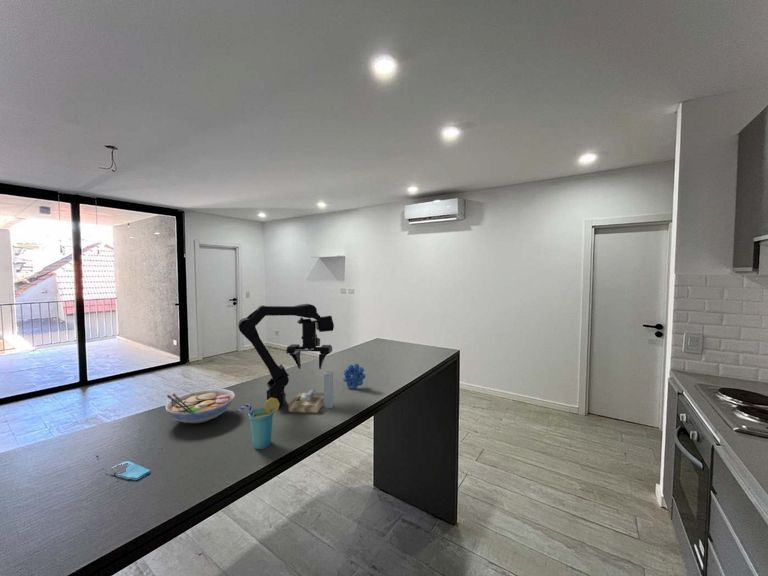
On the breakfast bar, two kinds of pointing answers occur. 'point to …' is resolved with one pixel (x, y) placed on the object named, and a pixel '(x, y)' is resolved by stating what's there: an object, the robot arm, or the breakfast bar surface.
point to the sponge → (133, 470)
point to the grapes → (354, 376)
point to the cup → (262, 422)
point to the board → (306, 404)
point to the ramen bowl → (199, 405)
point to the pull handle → (327, 391)
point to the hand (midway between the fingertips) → (309, 368)
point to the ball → (303, 398)
